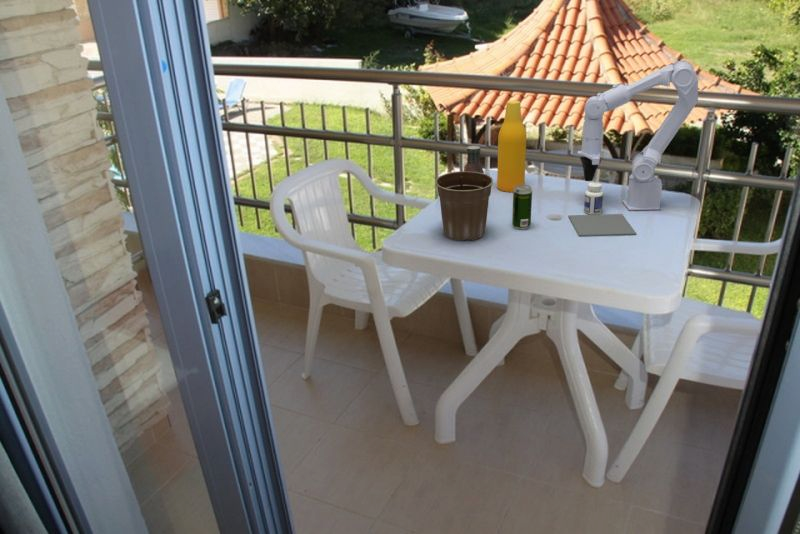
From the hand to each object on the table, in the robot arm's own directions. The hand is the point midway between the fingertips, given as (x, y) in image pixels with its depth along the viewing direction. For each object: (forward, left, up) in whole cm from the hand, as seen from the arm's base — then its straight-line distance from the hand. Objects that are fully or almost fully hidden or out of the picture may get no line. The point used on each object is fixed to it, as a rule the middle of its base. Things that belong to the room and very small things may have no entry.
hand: (588, 180), depth 214 cm
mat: (0, +19, -7) cm, 21 cm away
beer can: (+23, +18, -8) cm, 30 cm away
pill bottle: (0, +8, -8) cm, 11 cm away
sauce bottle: (+36, +3, -8) cm, 37 cm away
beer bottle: (+22, -16, -8) cm, 28 cm away
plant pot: (+40, +22, -8) cm, 46 cm away
